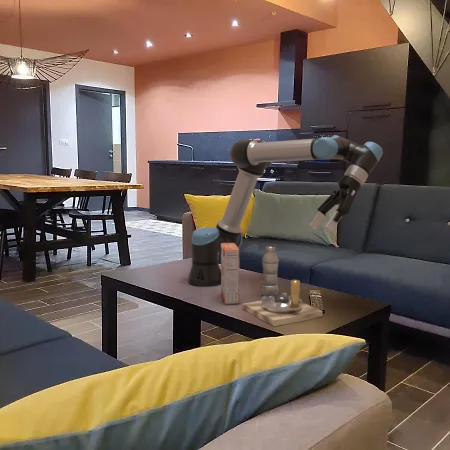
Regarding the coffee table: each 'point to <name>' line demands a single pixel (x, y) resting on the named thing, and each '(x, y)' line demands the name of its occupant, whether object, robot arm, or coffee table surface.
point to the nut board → (281, 314)
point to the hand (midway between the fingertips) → (320, 228)
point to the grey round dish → (284, 300)
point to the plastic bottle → (270, 272)
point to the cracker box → (230, 273)
